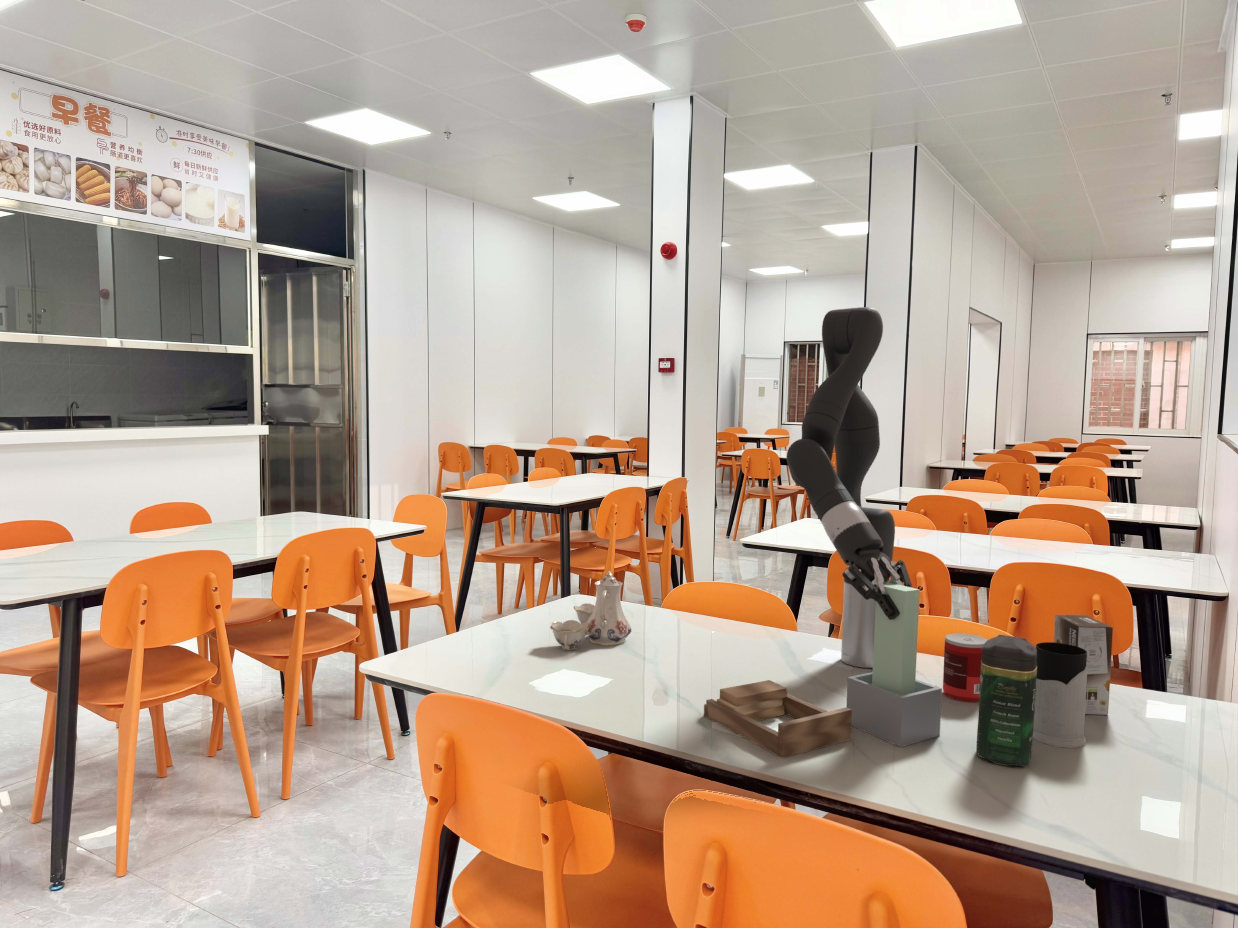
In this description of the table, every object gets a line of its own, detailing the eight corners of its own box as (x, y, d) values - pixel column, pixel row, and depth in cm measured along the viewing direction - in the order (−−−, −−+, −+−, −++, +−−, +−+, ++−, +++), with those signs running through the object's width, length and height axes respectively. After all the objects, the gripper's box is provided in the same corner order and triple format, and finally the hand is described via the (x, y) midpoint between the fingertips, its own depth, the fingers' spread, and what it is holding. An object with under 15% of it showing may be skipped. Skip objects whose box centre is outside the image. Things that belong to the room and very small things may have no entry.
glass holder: (1078, 752, 131) (1083, 659, 130) (986, 727, 140) (990, 641, 139) (1092, 736, 137) (1097, 648, 136) (1003, 714, 147) (1007, 631, 146)
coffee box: (1110, 715, 147) (1115, 627, 146) (1074, 714, 147) (1078, 626, 146) (1083, 697, 156) (1087, 614, 155) (1049, 696, 157) (1053, 613, 156)
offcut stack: (766, 704, 149) (767, 678, 149) (786, 714, 145) (787, 687, 144) (715, 716, 143) (715, 689, 143) (734, 726, 139) (735, 698, 138)
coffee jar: (1030, 772, 123) (1036, 650, 122) (973, 760, 127) (978, 642, 125) (1034, 750, 131) (1040, 635, 130) (980, 739, 135) (985, 628, 134)
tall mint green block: (885, 697, 142) (890, 582, 141) (913, 708, 137) (919, 589, 136) (871, 700, 140) (876, 584, 139) (899, 711, 135) (905, 591, 134)
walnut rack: (768, 701, 151) (769, 674, 151) (850, 739, 134) (851, 709, 134) (703, 715, 144) (704, 687, 143) (782, 757, 126) (783, 726, 126)
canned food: (986, 692, 159) (989, 636, 158) (985, 705, 151) (988, 646, 151) (943, 685, 162) (946, 630, 161) (941, 698, 155) (943, 640, 154)
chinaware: (575, 628, 206) (569, 563, 205) (640, 625, 203) (635, 559, 202) (547, 661, 178) (540, 586, 178) (623, 659, 176) (616, 582, 175)
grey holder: (884, 713, 146) (886, 668, 146) (939, 735, 136) (941, 688, 136) (845, 722, 141) (847, 677, 141) (900, 746, 131) (902, 697, 131)
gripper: (834, 521, 140) (888, 607, 130) (891, 518, 147) (946, 599, 138) (810, 548, 145) (861, 632, 135) (866, 543, 152) (918, 623, 142)
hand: (903, 615), depth 136 cm, fingers closed on tall mint green block, 3 cm apart
